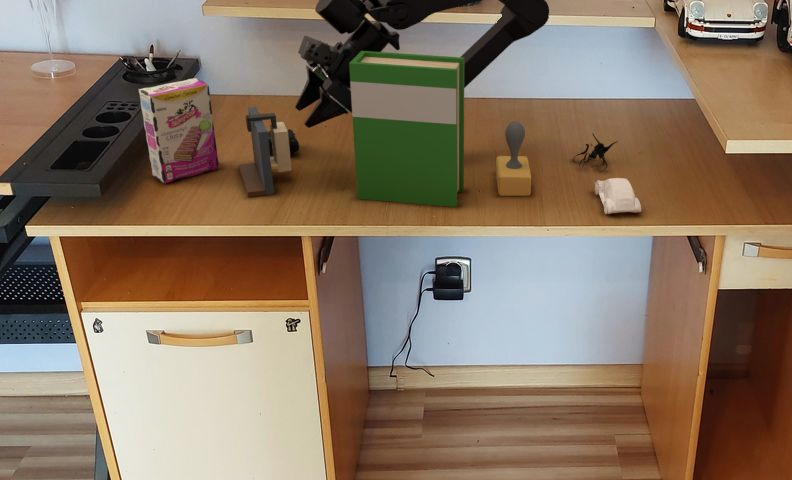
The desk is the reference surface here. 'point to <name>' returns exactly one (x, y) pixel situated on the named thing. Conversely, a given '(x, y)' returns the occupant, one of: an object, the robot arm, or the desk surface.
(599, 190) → the white toy vehicle
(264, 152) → the door
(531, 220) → the desk surface
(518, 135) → the rubber stamp
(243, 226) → the desk surface
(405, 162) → the hardback book
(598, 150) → the creature
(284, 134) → the hanger
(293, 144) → the tape measure
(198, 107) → the candy bar box
